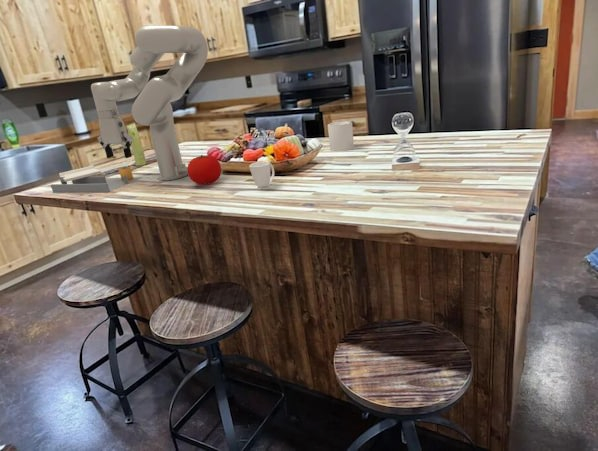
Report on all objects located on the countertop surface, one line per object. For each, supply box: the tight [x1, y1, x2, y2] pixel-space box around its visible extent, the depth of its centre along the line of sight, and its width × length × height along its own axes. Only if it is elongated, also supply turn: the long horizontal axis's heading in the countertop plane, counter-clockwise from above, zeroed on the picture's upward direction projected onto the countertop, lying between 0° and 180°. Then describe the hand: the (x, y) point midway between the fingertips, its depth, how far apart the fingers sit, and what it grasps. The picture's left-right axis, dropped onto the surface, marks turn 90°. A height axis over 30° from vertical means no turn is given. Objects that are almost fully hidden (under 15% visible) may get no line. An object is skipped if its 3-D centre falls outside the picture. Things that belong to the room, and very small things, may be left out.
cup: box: [248, 160, 275, 191], centre depth 139 cm, size 7×10×8 cm
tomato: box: [187, 154, 222, 185], centre depth 152 cm, size 11×12×10 cm
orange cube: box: [118, 166, 134, 181], centre depth 176 cm, size 5×5×5 cm
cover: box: [58, 164, 102, 184], centre depth 178 cm, size 15×11×5 cm
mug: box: [327, 120, 355, 152], centre depth 180 cm, size 14×10×11 cm
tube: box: [126, 122, 148, 167], centre depth 200 cm, size 6×5×20 cm
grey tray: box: [50, 176, 143, 194], centre depth 173 cm, size 30×20×4 cm, turn 68°
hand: (119, 157), depth 173 cm, fingers open, 9 cm apart
